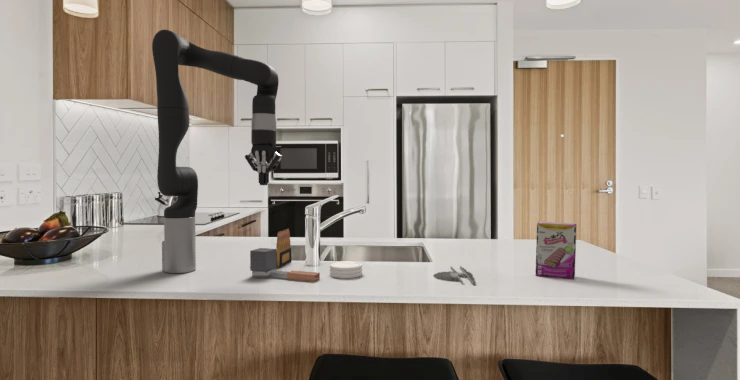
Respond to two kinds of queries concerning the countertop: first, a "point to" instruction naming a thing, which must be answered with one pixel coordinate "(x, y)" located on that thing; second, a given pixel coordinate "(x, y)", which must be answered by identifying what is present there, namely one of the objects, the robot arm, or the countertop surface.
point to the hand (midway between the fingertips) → (263, 185)
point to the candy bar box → (556, 250)
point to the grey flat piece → (455, 276)
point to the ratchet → (288, 275)
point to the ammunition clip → (283, 249)
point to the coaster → (345, 269)
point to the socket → (262, 259)
